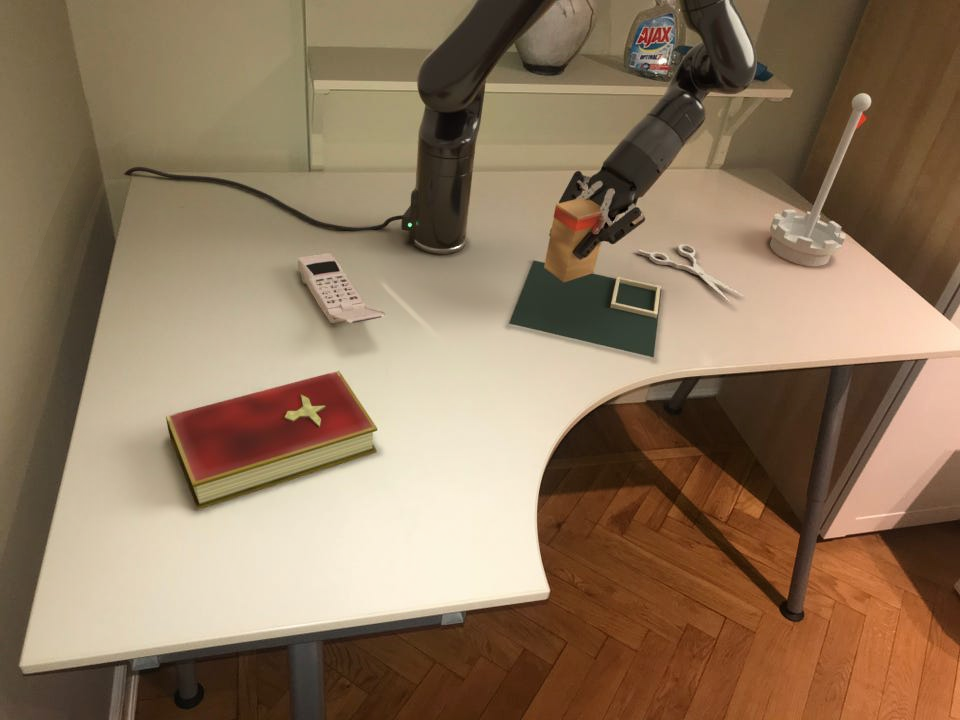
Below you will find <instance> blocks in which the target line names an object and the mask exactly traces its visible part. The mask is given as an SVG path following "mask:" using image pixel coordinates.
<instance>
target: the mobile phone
mask: <svg viewBox="0 0 960 720" xmlns="http://www.w3.org/2000/svg"><path fill="white" fill-rule="evenodd" d="M297 269H298V271H299V273H300V274H301V281H302V283H303V284H304V285H305V284H306V286H307V287H308V289H309V291H310V293H311V295H312V296H313V298H314V300H315V301H316V303H317V304H318V306H319V308H320V309H321V311H322V312H323V314H324V315H325V317H326V318H327V320H328V321H329V323H331V324H335V323H340V322H347V323H349V324H353V323H358V322H359V323H360V322H364V321H370V320H376V319H381V318H383V317H384V316H385V315H386V312H385V311H384V310H379V309H375V308H370V307H366V304H365V302H363V300H362V299H361V297H360V295H359V293H358V292H357V290H356V288H355V287H354V285H353V283H352V282H351V280H350V279H349V277H348V275H346V273H345V271H344V269H343V268H342V267H341V265H340V264H339V262H338V261H337V260H336V259H335V257H334V256H333V255H332V254H331V253H322V254H315V255H307V256H301V257H298V258H297Z"/></svg>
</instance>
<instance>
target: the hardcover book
mask: <svg viewBox="0 0 960 720" xmlns="http://www.w3.org/2000/svg"><path fill="white" fill-rule="evenodd" d="M165 421H166V425H167V431H168V436H169V440H170V443H171V445H172V448H173V451H174V453H175V456H176V458H177V462H178V463H179V467H180V469H181V471H182V474H183V476H184V479H185V482H186V484H187V487H188V489H189V492H190V495H191V497H192V500H193V504H194V505H195V508H196V510H197V511H199V510H202V509H205V508H208V507H211V506H214V505H217V504H221V503H223V502H227V501H230V500H233V499H236V498H239V497H242V496H245V495H248V494H251V493H255V492H257V491H261V490H263V489H267V488H270V487H274V486H276V485H279V484H283V483H285V482H288V481H291V480H295V479H298V478H302V477H304V476H308V475H310V474H313V473H316V472H320V471H322V470H325V469H329V468H332V467H334V466H338V465H341V464H344V463H347V462H351V461H353V460H357V459H360V458H363V457H366V456H368V455H369V456H370V455H373V454H375V453H377V452H378V451H377V448H376V446H375V445H374V443H373V439H374V438H373V436H374V432H378V427H377V425H376V424H375V422H374V421H373V420H372V418H371V417H370V415H369V413H368V412H367V410H366V409H365V407H364V405H363V404H362V402H361V401H360V400H359V398H358V397H357V395H356V394H355V392H354V391H353V389H352V388H351V386H350V385H349V383H348V382H347V380H346V378H345V377H344V376H343V374H342V373H341V372H340V370H336V371H333V372H332V371H331V372H328V373H325V374H321V375H317V376H313V377H310V378H305V379H302V380H298V381H294V382H290V383H287V384H283V385H279V386H276V387H275V386H274V387H271V388H267V389H264V390H260V391H255V392H252V393H248V394H246V395H241V396H238V397H234V398H230V399H226V400H223V401H219V402H214V403H211V404H206V405H203V406H199V407H195V408H192V409H188V410H184V411H181V412H176V413H173V414H169V415H165Z"/></svg>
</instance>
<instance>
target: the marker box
mask: <svg viewBox="0 0 960 720" xmlns="http://www.w3.org/2000/svg"><path fill="white" fill-rule="evenodd" d="M600 208H601V206H599V205H598V204H596V203H595V202H593V201H591V200H590V199H589V200H584V199H582V198H579V199H575V200H571V201H567V202H563V203H559V202H558V203H556V204H555V208H554V213H553V219H552V224H551V228H552V229H551V228H550V230H551V234H550V233H549V234H550V236H549V239H548V244H547V250H546V254H545V260H544V263H545V265H544V268H546V269H547V270H548V271H549V272H551V273H552V274H553V275H555V276H556V277H557V278H559V279H560V280H561V281H563V282H567V281H570V280H573V279H576V278H579V277H582V276H586V275H589V274H592V273H593V274H595V273H594V272H595V268H596V265H597V260H598V256H599V252H600V249H601V244H602V242H600V243H599V244H598V245H597V246H596V247H595V249H594V250H593V251H592V252H591V253H590V254H589V256H587V257H586V258H583V259H581V260H580V259H578V258H577V257H576V256H575V255H574V254H573V250H574V249H575V247H576V246H577V245H578V244H579V243H580V242H581V240H582V239H583V238H584V237H585V236H586V235H587V233H588V232H590V233H592V229H593V227H594V225H595V224H596V223H597V221H598V220H599V217H600V215H601V213H602V211H601V210H600ZM603 227H604V226H603Z"/></svg>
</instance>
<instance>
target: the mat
mask: <svg viewBox="0 0 960 720" xmlns="http://www.w3.org/2000/svg"><path fill="white" fill-rule="evenodd" d="M544 265H545V262H543V261H538V260H533V261H532V264H531V266H530V269H529V272H528V274H527V276H526V278H525V281H524V283H523V286H522V289H521V291H520V294H519V296H518V299H517V302H516V305H515V307H514V309H513V312H512V314H511V317H510V319H509V322H508V324H509V325H513V326H518V327H520V328H521V327H522V328H527V329H529V330H534V331H539V332H543V333H546V334H551V335H555V336H559V337H560V336H561V337H565V338H569V339H573V340H577V341H581V342H585V343H590V344H593V345H599V346H603V347H607V348H610V349H616V350H620V351H624V352H628V353H632V354H637V355H641V356H645V357H649V358H654V357H655V349H656V341H657V332H658V323H659V314H660V306H661V297H662V287H661V285H656V284H653V283H648V282H643V281H640V280H634V279H630V278H625V277H622V276H621V277H620V276H616V278H615V277H610V276H605V275H601V274H597V273H592V274H589V275H586V276H582V277H579V278H576V279H573V280H570V281H567V282H563V281H561V280H560V279H559V278H557V277H556V276H555V275H553V274H552V273H551V272H549V271H548V270H547V269H546V268H544Z"/></svg>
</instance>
